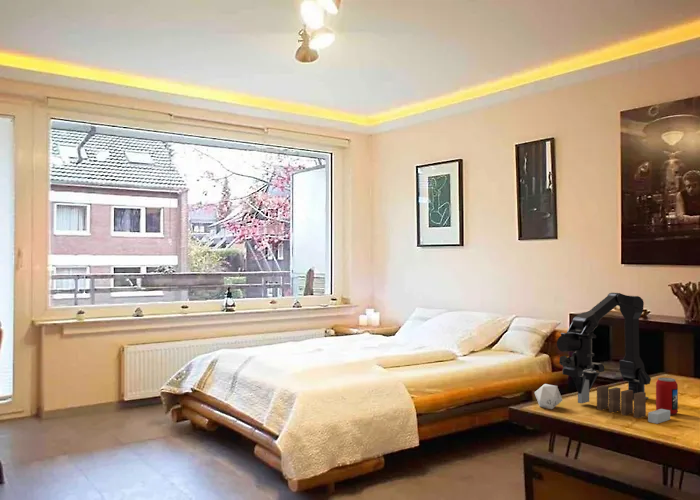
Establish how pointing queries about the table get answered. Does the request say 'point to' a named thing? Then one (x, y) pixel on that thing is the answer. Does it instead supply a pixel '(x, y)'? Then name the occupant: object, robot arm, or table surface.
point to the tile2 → (614, 400)
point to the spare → (584, 393)
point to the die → (548, 396)
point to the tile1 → (602, 397)
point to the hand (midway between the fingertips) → (583, 392)
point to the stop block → (659, 416)
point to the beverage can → (667, 395)
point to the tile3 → (626, 402)
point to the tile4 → (639, 404)
